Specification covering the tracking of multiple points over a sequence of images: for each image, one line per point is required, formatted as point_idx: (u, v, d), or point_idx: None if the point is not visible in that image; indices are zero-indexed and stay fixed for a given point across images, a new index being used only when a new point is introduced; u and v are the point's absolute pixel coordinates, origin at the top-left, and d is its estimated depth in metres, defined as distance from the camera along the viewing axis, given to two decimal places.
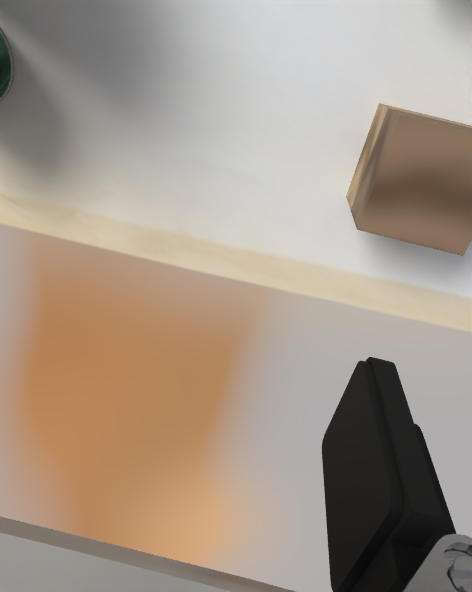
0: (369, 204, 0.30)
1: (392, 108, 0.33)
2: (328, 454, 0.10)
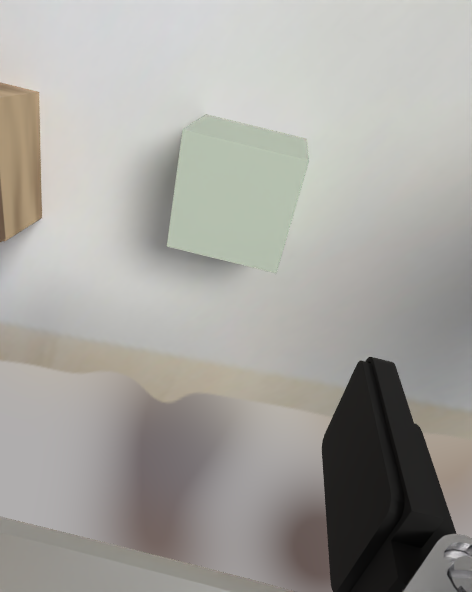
0: None
1: (12, 107, 0.23)
2: (328, 454, 0.10)
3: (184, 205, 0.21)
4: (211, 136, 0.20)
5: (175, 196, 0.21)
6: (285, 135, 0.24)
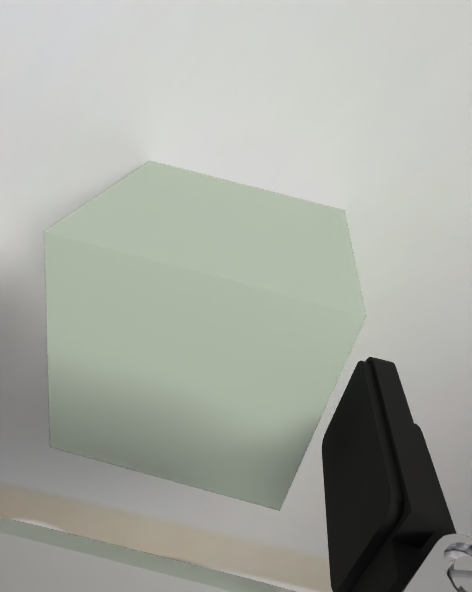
0: None
1: None
2: (328, 454, 0.10)
3: (73, 383, 0.10)
4: (117, 248, 0.08)
5: (52, 364, 0.09)
6: (303, 206, 0.12)
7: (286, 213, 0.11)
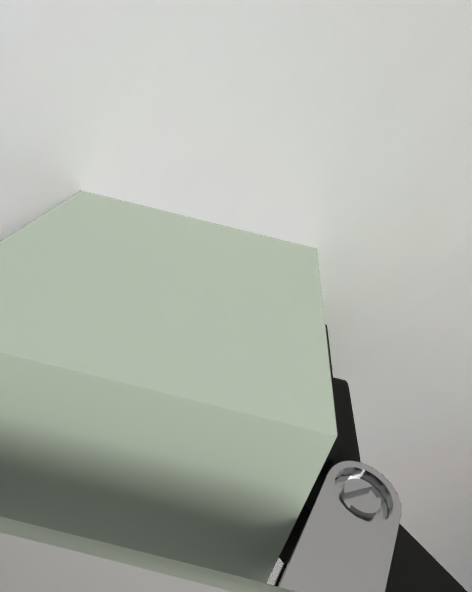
0: None
1: None
2: None
3: None
4: None
5: None
6: (266, 248, 0.10)
7: (243, 260, 0.09)
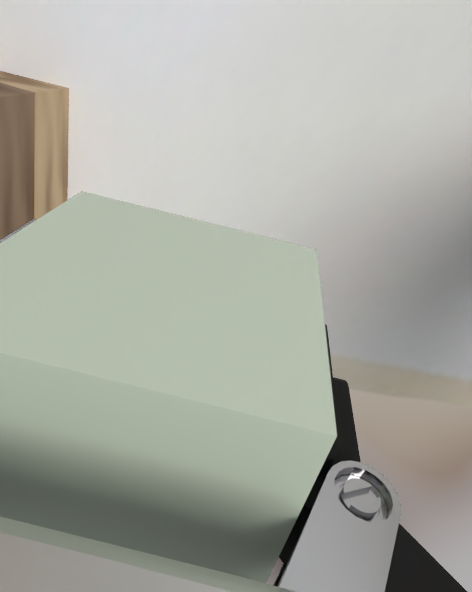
0: None
1: (48, 101, 0.27)
2: None
3: None
4: None
5: None
6: (266, 249, 0.10)
7: (243, 261, 0.09)
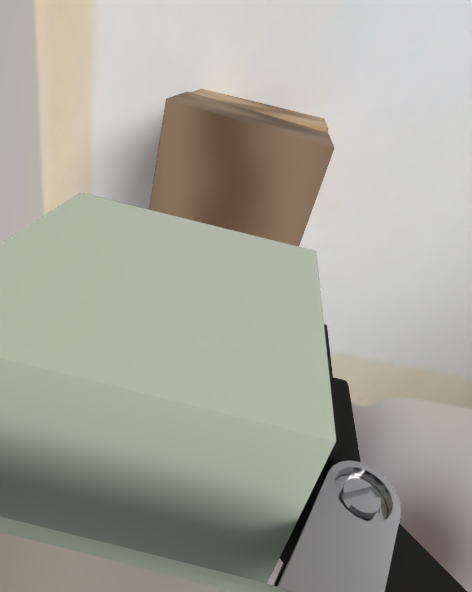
0: (207, 115, 0.20)
1: None
2: None
3: None
4: None
5: None
6: (265, 250, 0.10)
7: (242, 263, 0.09)
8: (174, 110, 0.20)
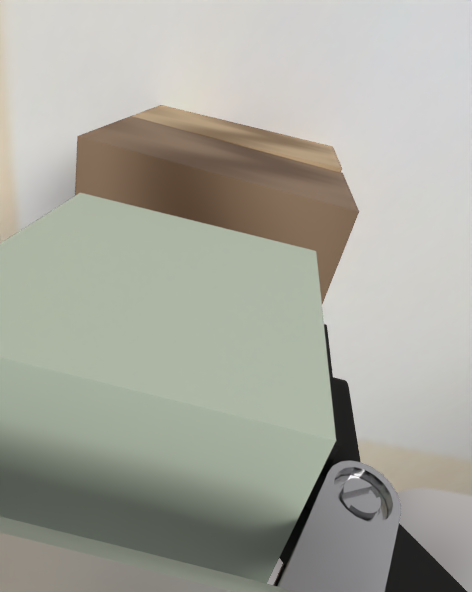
0: (147, 162, 0.12)
1: None
2: None
3: None
4: None
5: None
6: (265, 250, 0.10)
7: (242, 263, 0.09)
8: (93, 154, 0.12)
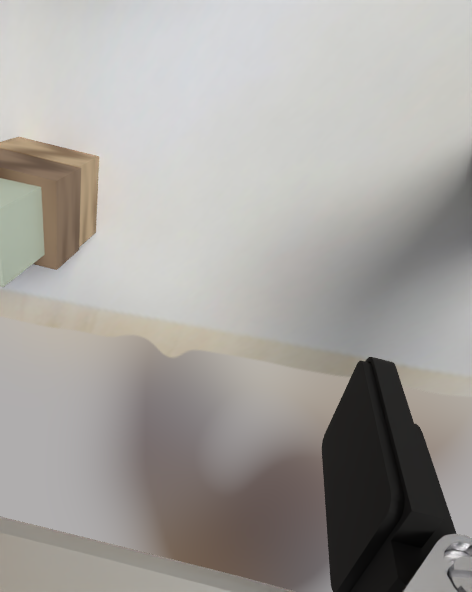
0: None
1: (86, 169, 0.39)
2: (328, 454, 0.10)
3: None
4: None
5: None
6: (20, 186, 0.33)
7: (8, 188, 0.33)
8: None
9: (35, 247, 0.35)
